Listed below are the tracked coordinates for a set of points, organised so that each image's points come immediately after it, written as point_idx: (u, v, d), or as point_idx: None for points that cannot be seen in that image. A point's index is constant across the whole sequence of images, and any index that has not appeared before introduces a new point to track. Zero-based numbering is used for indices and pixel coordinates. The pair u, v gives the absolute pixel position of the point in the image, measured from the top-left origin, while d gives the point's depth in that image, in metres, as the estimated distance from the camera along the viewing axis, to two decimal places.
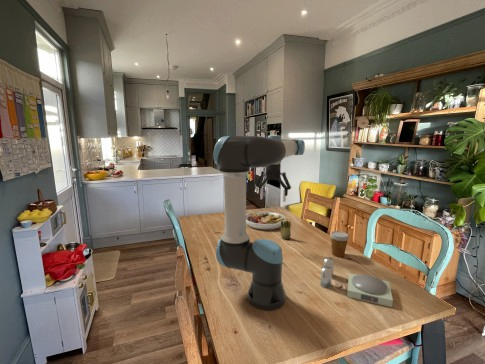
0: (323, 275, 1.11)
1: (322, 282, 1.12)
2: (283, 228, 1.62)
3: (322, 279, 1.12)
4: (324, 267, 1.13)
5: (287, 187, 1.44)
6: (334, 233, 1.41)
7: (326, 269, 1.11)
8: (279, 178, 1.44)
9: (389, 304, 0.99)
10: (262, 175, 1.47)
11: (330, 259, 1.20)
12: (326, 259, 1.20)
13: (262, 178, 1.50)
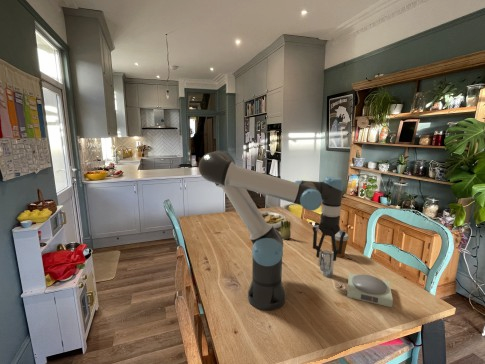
0: (323, 259, 1.10)
1: (321, 266, 1.11)
2: (283, 228, 1.62)
3: (322, 263, 1.10)
4: (324, 251, 1.11)
5: (336, 250, 1.09)
6: None
7: (325, 253, 1.10)
8: (334, 236, 1.08)
9: (389, 304, 0.99)
10: (315, 232, 1.10)
11: None
12: None
13: (316, 235, 1.12)
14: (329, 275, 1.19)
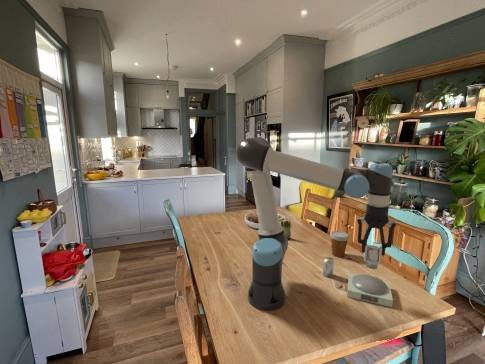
0: (370, 255, 1.01)
1: (368, 262, 1.02)
2: None
3: (368, 259, 1.02)
4: (370, 246, 1.03)
5: (385, 243, 1.00)
6: (334, 233, 1.41)
7: (373, 248, 1.01)
8: (382, 228, 0.99)
9: (389, 304, 0.99)
10: (361, 224, 1.01)
11: (330, 259, 1.20)
12: (326, 259, 1.20)
13: None
14: (329, 275, 1.19)
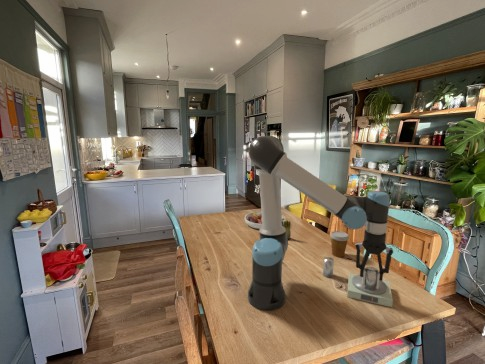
0: (368, 276, 1.03)
1: (367, 284, 1.04)
2: None
3: (367, 281, 1.03)
4: (368, 268, 1.04)
5: None
6: (334, 233, 1.41)
7: (371, 270, 1.03)
8: None
9: (389, 304, 0.99)
10: (359, 250, 1.03)
11: (330, 259, 1.20)
12: (326, 259, 1.20)
13: None
14: (329, 275, 1.19)
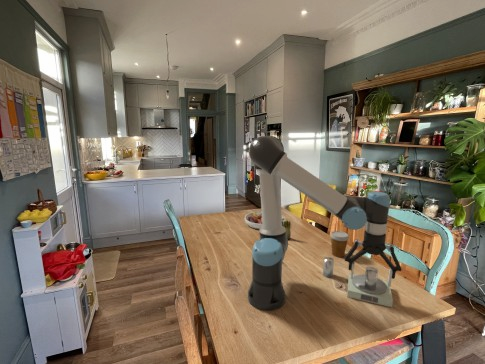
0: (368, 276, 1.03)
1: (367, 284, 1.04)
2: None
3: (367, 281, 1.03)
4: (368, 268, 1.04)
5: (395, 266, 1.00)
6: (334, 233, 1.41)
7: (371, 270, 1.03)
8: (383, 253, 1.00)
9: (389, 304, 0.99)
10: (356, 247, 1.03)
11: (330, 259, 1.20)
12: (326, 259, 1.20)
13: None
14: (329, 275, 1.19)
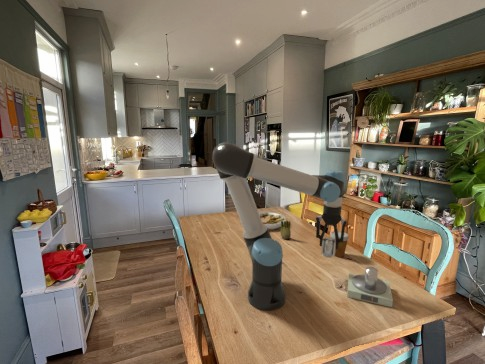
0: (368, 276, 1.03)
1: (367, 284, 1.04)
2: (283, 228, 1.62)
3: (367, 281, 1.03)
4: (368, 268, 1.04)
5: None
6: (334, 233, 1.41)
7: (371, 270, 1.03)
8: (336, 225, 1.15)
9: (389, 304, 0.99)
10: (318, 221, 1.17)
11: (331, 239, 1.18)
12: (327, 239, 1.18)
13: None
14: (329, 255, 1.17)
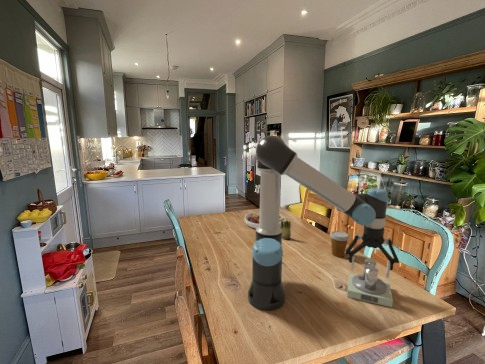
0: (368, 276, 1.03)
1: (367, 284, 1.04)
2: (283, 228, 1.62)
3: (367, 281, 1.03)
4: (368, 268, 1.04)
5: None
6: (334, 233, 1.41)
7: (371, 270, 1.03)
8: (382, 246, 1.07)
9: (389, 304, 0.99)
10: (356, 240, 1.09)
11: (372, 261, 1.10)
12: (367, 261, 1.10)
13: None
14: None
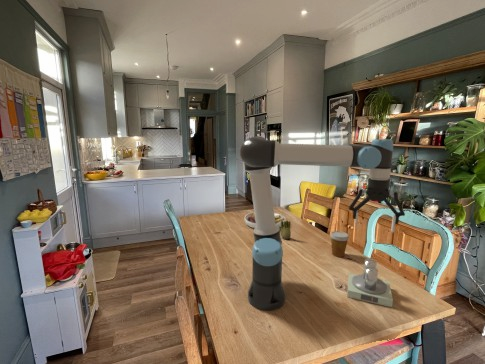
0: (368, 276, 1.03)
1: (367, 284, 1.04)
2: (283, 228, 1.62)
3: (367, 281, 1.03)
4: (368, 268, 1.04)
5: (398, 212, 1.03)
6: (334, 233, 1.41)
7: (371, 270, 1.03)
8: (387, 199, 1.03)
9: (389, 304, 0.99)
10: (360, 195, 1.06)
11: (372, 261, 1.10)
12: (367, 261, 1.10)
13: None
14: None
